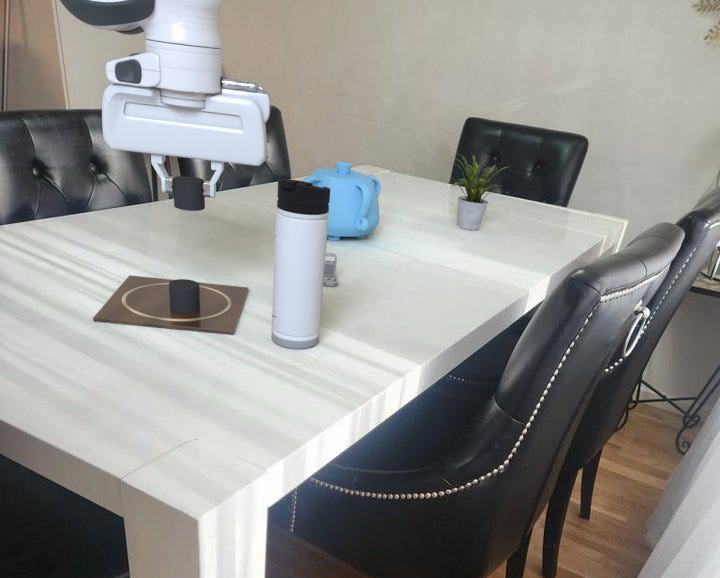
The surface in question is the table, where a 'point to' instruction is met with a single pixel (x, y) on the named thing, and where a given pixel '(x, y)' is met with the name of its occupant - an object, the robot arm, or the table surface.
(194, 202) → the eye puck
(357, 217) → the decorative pot
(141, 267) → the table surface
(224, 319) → the board
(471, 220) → the house plant
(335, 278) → the strap clip
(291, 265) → the travel mug
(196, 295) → the eye puck
